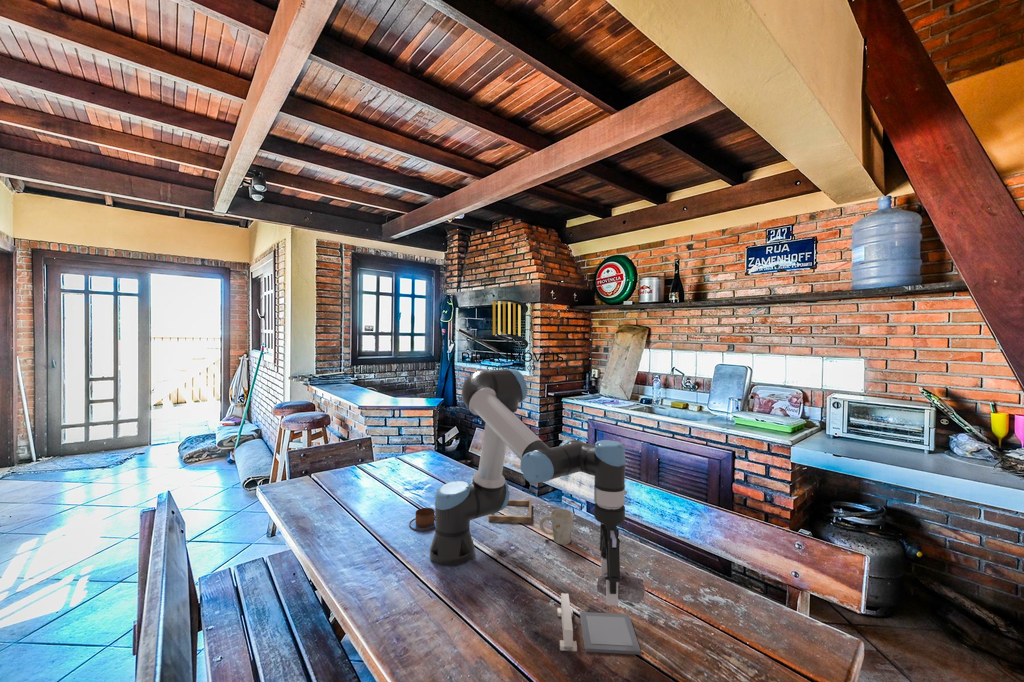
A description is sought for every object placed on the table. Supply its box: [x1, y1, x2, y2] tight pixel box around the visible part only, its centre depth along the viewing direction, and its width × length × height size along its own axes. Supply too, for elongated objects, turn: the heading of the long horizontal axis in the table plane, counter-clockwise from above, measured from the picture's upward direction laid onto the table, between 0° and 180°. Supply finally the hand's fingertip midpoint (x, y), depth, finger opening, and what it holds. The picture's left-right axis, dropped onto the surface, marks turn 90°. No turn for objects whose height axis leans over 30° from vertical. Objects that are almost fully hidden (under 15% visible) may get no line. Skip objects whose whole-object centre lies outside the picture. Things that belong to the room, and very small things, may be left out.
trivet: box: [579, 611, 642, 656], centre depth 104 cm, size 13×13×1 cm
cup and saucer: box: [408, 507, 435, 532], centre depth 162 cm, size 12×12×6 cm
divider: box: [556, 592, 578, 652], centre depth 105 cm, size 4×14×5 cm, turn 176°
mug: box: [539, 508, 575, 545], centre depth 152 cm, size 8×13×10 cm, turn 78°
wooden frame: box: [488, 499, 533, 524], centre depth 173 cm, size 17×17×3 cm
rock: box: [596, 570, 646, 604], centre depth 104 cm, size 8×11×5 cm
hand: (609, 593), depth 104 cm, fingers closed on rock, 8 cm apart
